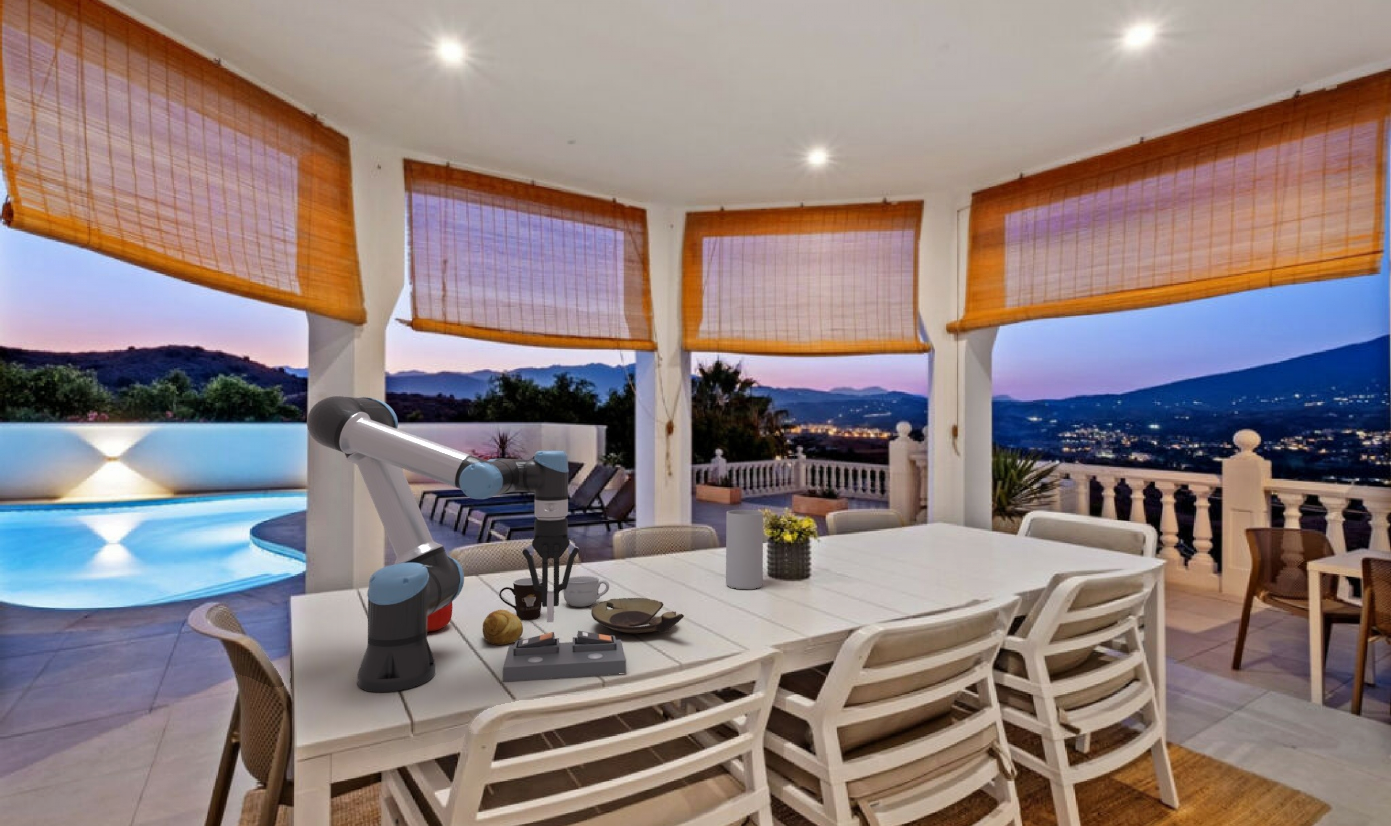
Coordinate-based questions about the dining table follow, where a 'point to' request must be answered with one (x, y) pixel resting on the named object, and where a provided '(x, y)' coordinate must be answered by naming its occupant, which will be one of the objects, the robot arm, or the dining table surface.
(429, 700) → the dining table surface
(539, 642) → the left rocker
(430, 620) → the tomato
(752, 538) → the cylinder vase
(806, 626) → the dining table surface
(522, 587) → the coffee mug
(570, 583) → the teacup
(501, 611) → the bread roll
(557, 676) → the rocker switch box
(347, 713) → the dining table surface
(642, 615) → the oil lamp
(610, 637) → the right rocker
